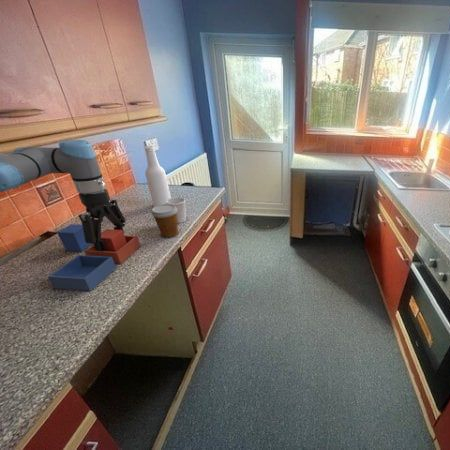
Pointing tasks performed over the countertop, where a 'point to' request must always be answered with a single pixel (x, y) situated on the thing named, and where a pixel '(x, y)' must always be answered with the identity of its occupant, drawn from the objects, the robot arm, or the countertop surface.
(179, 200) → the dixie cup
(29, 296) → the countertop surface
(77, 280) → the blue bin
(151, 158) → the white bottle
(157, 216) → the disposable coffee cup
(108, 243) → the red block
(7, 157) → the robot arm
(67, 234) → the blue block
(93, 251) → the red bin
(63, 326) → the countertop surface
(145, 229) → the countertop surface
